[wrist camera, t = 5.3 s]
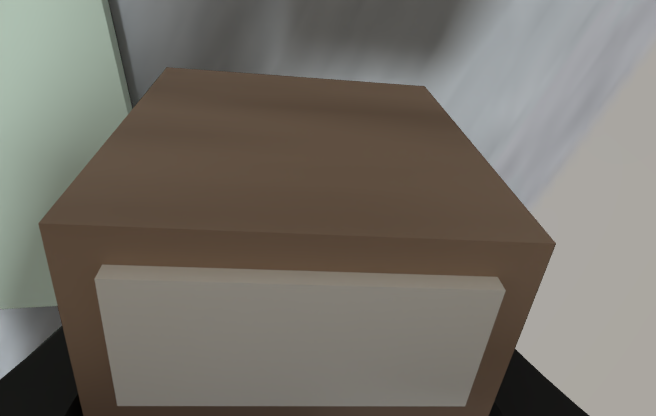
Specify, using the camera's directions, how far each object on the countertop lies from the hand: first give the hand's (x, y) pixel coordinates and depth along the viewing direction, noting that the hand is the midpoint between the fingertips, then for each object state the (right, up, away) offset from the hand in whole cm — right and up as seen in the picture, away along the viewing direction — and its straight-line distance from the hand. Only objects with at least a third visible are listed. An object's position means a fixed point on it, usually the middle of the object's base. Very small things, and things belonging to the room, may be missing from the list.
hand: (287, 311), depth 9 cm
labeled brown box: (0, +1, +1) cm, 2 cm away
